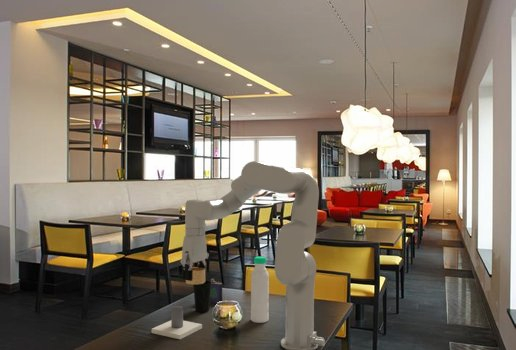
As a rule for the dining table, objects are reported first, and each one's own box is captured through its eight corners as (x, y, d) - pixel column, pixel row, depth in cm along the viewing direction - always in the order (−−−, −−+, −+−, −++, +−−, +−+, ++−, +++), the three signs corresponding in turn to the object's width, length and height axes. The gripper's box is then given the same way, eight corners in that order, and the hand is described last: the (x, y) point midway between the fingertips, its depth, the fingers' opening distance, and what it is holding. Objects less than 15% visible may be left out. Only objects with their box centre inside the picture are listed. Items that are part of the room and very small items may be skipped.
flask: (201, 302, 204) (201, 278, 204) (203, 301, 207) (204, 277, 207) (221, 304, 202) (221, 280, 202) (223, 302, 205) (223, 278, 205)
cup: (189, 311, 191) (189, 283, 191) (199, 307, 198) (200, 279, 198) (204, 314, 187) (204, 285, 187) (214, 309, 194) (215, 281, 194)
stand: (202, 328, 171) (202, 305, 171) (180, 339, 160) (180, 315, 160) (174, 322, 178) (174, 300, 177) (151, 332, 166) (151, 309, 166)
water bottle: (266, 324, 176) (267, 259, 176) (249, 322, 178) (249, 258, 178) (270, 318, 183) (270, 255, 183) (252, 317, 185) (253, 255, 184)
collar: (208, 281, 177) (208, 268, 177) (197, 285, 171) (197, 271, 171) (193, 279, 180) (193, 266, 180) (182, 283, 174) (182, 269, 174)
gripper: (201, 228, 185) (201, 272, 185) (172, 233, 170) (172, 281, 170) (216, 230, 181) (216, 274, 181) (188, 235, 166) (188, 284, 166)
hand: (195, 277), depth 176 cm, fingers closed on collar, 7 cm apart
